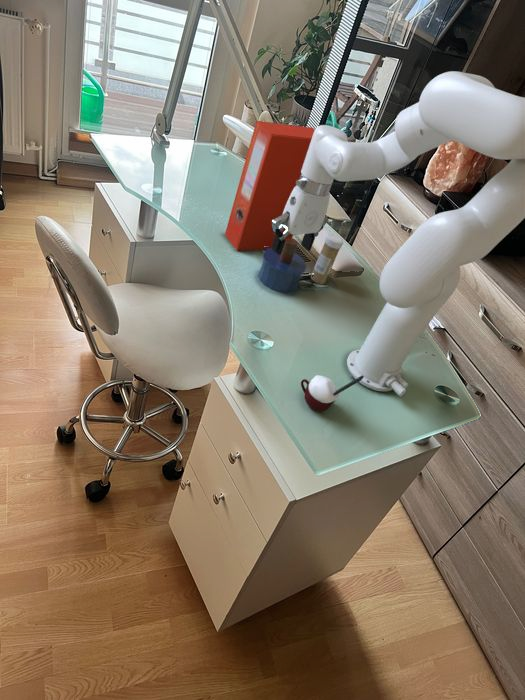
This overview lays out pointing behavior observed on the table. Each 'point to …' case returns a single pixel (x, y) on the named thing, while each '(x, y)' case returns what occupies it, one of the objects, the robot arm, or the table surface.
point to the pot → (278, 279)
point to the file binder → (267, 183)
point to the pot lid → (285, 259)
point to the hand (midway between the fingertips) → (290, 249)
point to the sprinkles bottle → (327, 258)
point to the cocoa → (323, 392)
